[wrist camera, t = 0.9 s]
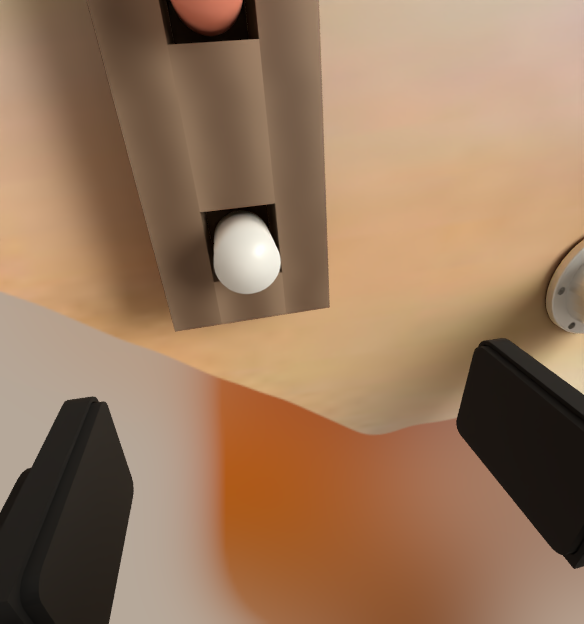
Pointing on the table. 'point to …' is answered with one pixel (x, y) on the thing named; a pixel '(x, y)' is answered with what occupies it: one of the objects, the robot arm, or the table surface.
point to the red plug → (208, 15)
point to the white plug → (245, 253)
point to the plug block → (223, 148)
